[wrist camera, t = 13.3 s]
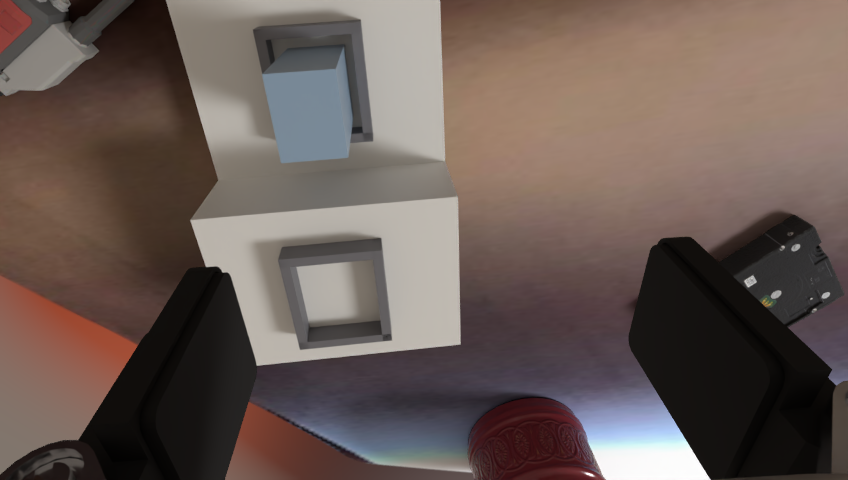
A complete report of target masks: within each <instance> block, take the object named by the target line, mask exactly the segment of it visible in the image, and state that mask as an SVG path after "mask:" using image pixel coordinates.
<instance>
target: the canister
mask: <svg viewBox="0 0 848 480" xmlns="http://www.w3.org/2000/svg"><path fill="white" fill-rule="evenodd" d="M468 459H469V465H470V468H471V471H472V473H473V476H474V480H606V479H605V478H604V477H603V475H602V473H601V471H600V468H599V466H598V464H597V462H596V459H595V457H594V455H593V453H592V450H591V448H590V446H589V444H588V440H587V435H586V433H585V431H584V429H583V426H582V424H581V423H580V421H579V420H578V419H577V418H576V417H575V415H574V413H573V412H572V411H571V410H570V409H569V408H568V407H567V406H565V405H563V404H562V403H559V402H557V401H554V400H550V399H545V398H525V399H519V400H515V401H511V402H508V403H505V404H502V405H500V406H498V407H496V408H494V409H493V410H491V411H489V412H488V413H486V414H485V415H484V416H483V417H482V418H481V419H479V421H478V422H477V423H476V424H475V425H474V427H473V428H472V430H471V432H470V435H469V439H468Z"/></svg>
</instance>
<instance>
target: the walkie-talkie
mask: <svg viewBox="0 0 848 480" xmlns="http://www.w3.org/2000/svg"><path fill="white" fill-rule="evenodd" d="M134 1H135V0H103V1H102V2H101V3H99V4H98V5H97V6H96V7H95V8H94V9H93V10H92V11H91V12H90V13H89V14H88V15H87V16H81V17H79V18H78V19H77V20H76V21H75V22H74V23H73V24H72V23H71V22H70V21H69V12H68V11H69V9H68V7H69V6H70V5H71V4H70V1H69V0H0V96H2V95H5V96H7V95H10V94H12V93H15V92H17V91H19V90H36V91H39V90H45V89H48V88H50V87H53V86H55V85H58V84H59V83H60V82H61V81H62V80H63V79H65V78H66V77H67V76H68V75H69V74H70V73H71V72H72V71H74V70H75V69H76V68H77V67H78V66H79V65H80V64H81V63H83V62H84V61H85V60H88V59H90V58H92V57H94V56H95V55H96V54H97V53H98V52H99V50H98V49H97V48H96V47H95V46H94V45H93V44H92V42H94V41H95V40H96V39H97V38H98V37H99V36H100V35H101V34H102V32H101V31H102V30H103V29H104V28H105V27H106V26H107V25H108V24H109V23H110V22H112V21H113V20H114V19H115V18H116V17H117V16H118V15H119V14H120V13H121V12H123V11H124V10H125V9H126V8H127V7H128V6H129V5H130V4H131V3H132V2H134Z"/></svg>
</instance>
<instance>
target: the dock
mask: <svg viewBox="0 0 848 480" xmlns="http://www.w3.org/2000/svg"><path fill="white" fill-rule="evenodd" d="M166 2H167V6H168V9H169V13H170V16H171V20H172V23H173V26H174V30H175V33H176V37H177V40H178V44H179V47H180V50H181V54H182V57H183V61H184V64H185V68H186V71H187V74H188V78H189V81H190V85H191V88H192V92H193V95H194V98H195V102H196V105H197V109H198V112H199V116H200V119H201V122H202V126H203V129H204V133H205V136H206V140H207V143H208V146H209V150H210V153H211V157H212V160H213V164H214V167H215V170H216V174H217V177H218V181H217V183H216V184H215V186H214V187H213V189H212V190H211V191H210V193H209V194H208V196H207V197H206V198H205V200H204V201H203V203H202V204H201V205H200V207H199V208H198V210H197V211H196V213H195V214H194V215H193V217H192V218H191V220H190V221H191V224H192V227H193V230H194V233H195V236H196V239H197V242H198V245H199V248H200V251H201V253H202V256H203V259H204V262H205V265H206V267H214V266H217V267H219V268H220V269H221V270H222V273H224V272H227V273H229V274H230V276H231V278H232V282H233V285H234V289H235V292H236V295H237V299H238V302H239V306H240V309H241V312H242V316H243V319H244V322H245V326H246V329H247V333H248V336H249V339H250V343H251V346H252V350H253V353H254V356H255V360H256V365H267V364H277V363H286V362H296V361H306V360H315V359H325V358H335V357H344V356H354V355H363V354H373V353H383V352H392V351H402V350H412V349H421V348H431V347H441V346H450V345H460V344H461V343H460V288H459V234H458V196H457V193H456V190H455V187H454V185H453V182H452V179H451V176H450V174H449V171H448V168H447V165H446V163H445V143H444V111H443V80H442V48H441V17H440V0H166ZM340 44H344V45H345V53H346V61H347V69H348V76H349V84H350V92H351V100H352V108H353V115H354V116H353V124H352V132H351V140H350V148H349V156H348V158H340V159H328V160H315V161H303V162H291V163H281V160H280V156H279V151H278V146H277V142H276V137H275V132H274V128H273V123H272V119H271V114H270V109H269V105H268V100H267V96H266V91H265V86H264V82H263V77H262V74H263V73H264V72H265V71H266V70H267V69H268V68H269V67H270V66H271V65H272V64H273V63H274V62H275V61H276V60H277V58H278V57H279V56H280V55H281V54H282V53H283V52H284V51H285V50H286V49H287V48H297V47H311V46H325V45H340Z"/></svg>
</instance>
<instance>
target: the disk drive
mask: <svg viewBox="0 0 848 480" xmlns="http://www.w3.org/2000/svg"><path fill="white" fill-rule="evenodd" d="M820 243H821V240H820V238H819V235H818V233H817V231H816V229H815V227H814V226H813V225H811V224H809V223H808V222H806V221H804V220H803V219H801V218H799V217H798V216H796V215H793V216H791V217H790V218H789V219H787V220H785V221H783V222H782V223H780V224H778V225H776V226H775V227H773V228H772V229H770V230H768V231H767V232H766V233H765V234H763V235H762V236H760V237H758V238H757V239H755V240H754V241H752V242H751V243H749V244H747V245H746V246H744V247H743V248H741V249H739V250H738V251H736V252H735V253H733V254H732V255H730V256H729V257H727V258H725V259H724V260H722V261H721V262H719V264H720V265H721V266H723V267H724V268H725V269H726V270H727V271H728V272H729V273H730V274H731V275H732V276H733V277H734V278H735V279H736V280H737V281H739V282H740V283H741V284H742V285H743V286H744V287H745V288H746V289H747V290H748V291H749V292H750V293H751V294H752V295H753V296H754V297H756V298H757V299H758V300H759V301H760V302H761V303H762V304H763V305H764V306H765V307H766V308H767V309H768V310H769V311H770V312H772V313H773V314H774V315H775V316H776V317H777V318H778V319H779V320H780V321H781V322H782V323H783V324H784V325H785V326H786V327H790V326H791V325H793V324H795V323H797V322H798V321H800V320H802V319H804V318H805V317H807V316H809V315H811V314H812V313H814V312H816V311H818V310H820V309H822V308H824V307H825V306H827V305H829V304H830V303H832V302H833V301H835V300H836V299H838V298H839V297H841V296H843V295H844V291H843V289H842V287H841V285H840V282H839V281H838V278H837V276H836V274H835V271H834V269H833V266H832V265H831V262H830V260H829V257H828V256H827V255H826V254H825V253H824V251H823V250H822V249H821V247H820V246H819V244H820Z"/></svg>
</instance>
